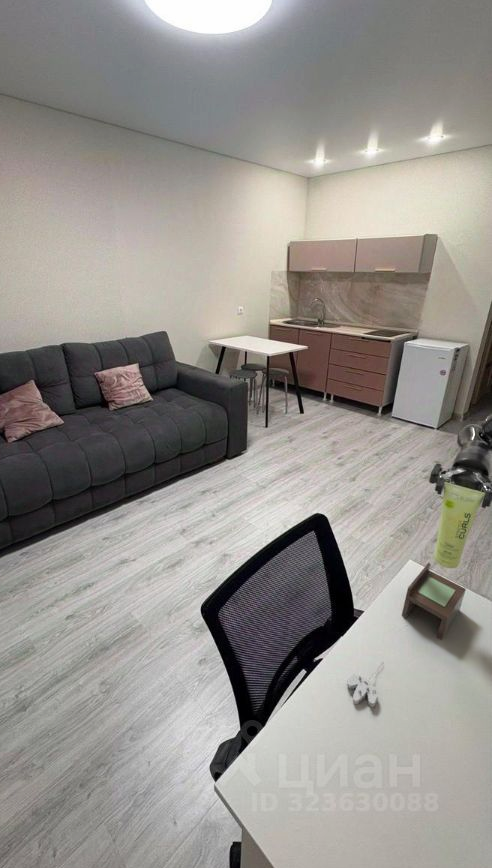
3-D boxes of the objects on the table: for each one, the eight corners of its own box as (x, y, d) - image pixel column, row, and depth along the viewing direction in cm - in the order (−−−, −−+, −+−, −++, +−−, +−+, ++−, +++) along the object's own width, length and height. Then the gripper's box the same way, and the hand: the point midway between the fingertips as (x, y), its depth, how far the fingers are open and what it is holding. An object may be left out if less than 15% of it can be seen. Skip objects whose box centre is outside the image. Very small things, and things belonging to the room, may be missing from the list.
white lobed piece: (343, 698, 78) (344, 689, 77) (355, 651, 87) (357, 642, 86) (373, 713, 75) (375, 704, 74) (383, 663, 85) (385, 654, 84)
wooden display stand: (421, 589, 104) (428, 562, 101) (459, 610, 98) (468, 582, 95) (401, 615, 96) (407, 587, 93) (441, 639, 90) (449, 610, 87)
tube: (439, 570, 89) (459, 494, 81) (426, 554, 93) (444, 481, 86) (463, 568, 89) (485, 493, 82) (449, 553, 94) (469, 480, 86)
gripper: (441, 443, 98) (427, 470, 86) (512, 460, 90) (508, 493, 78) (435, 471, 101) (420, 500, 88) (503, 489, 93) (497, 525, 81)
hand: (461, 497), depth 83 cm, fingers closed on tube, 7 cm apart
